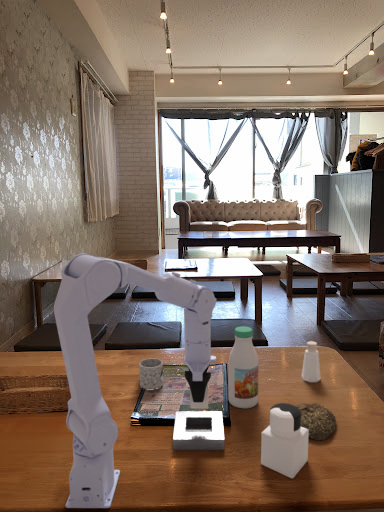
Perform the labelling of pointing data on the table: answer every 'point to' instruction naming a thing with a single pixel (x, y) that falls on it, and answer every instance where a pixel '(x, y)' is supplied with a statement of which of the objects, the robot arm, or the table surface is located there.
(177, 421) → the socket
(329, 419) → the bread roll
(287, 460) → the medicine bottle
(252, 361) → the milk bottle
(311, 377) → the salt shaker
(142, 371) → the mug
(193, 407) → the plug
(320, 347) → the table surface
